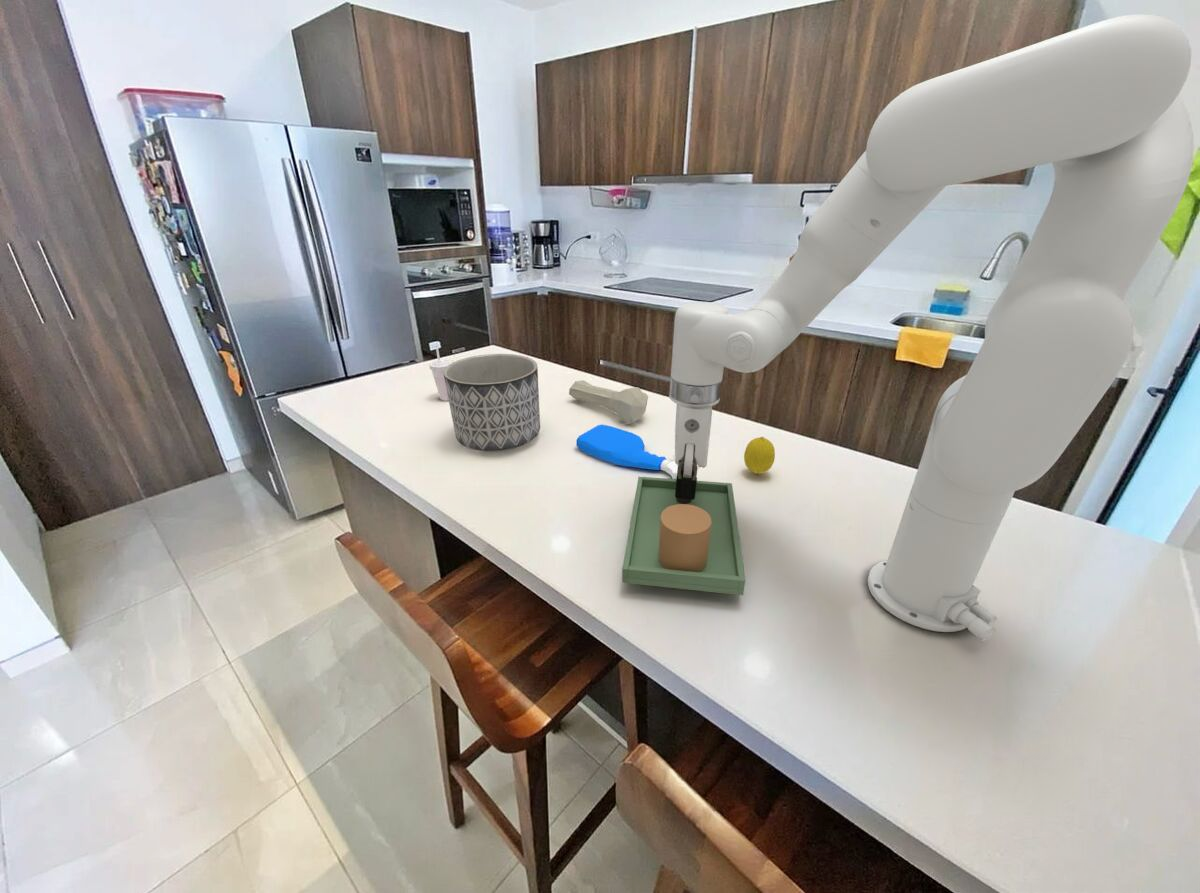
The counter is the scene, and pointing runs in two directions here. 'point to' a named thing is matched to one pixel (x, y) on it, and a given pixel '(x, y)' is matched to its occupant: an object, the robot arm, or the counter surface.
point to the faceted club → (613, 399)
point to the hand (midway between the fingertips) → (685, 491)
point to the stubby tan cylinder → (684, 538)
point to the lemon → (759, 455)
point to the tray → (723, 545)
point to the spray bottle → (622, 449)
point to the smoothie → (440, 375)
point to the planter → (494, 401)
